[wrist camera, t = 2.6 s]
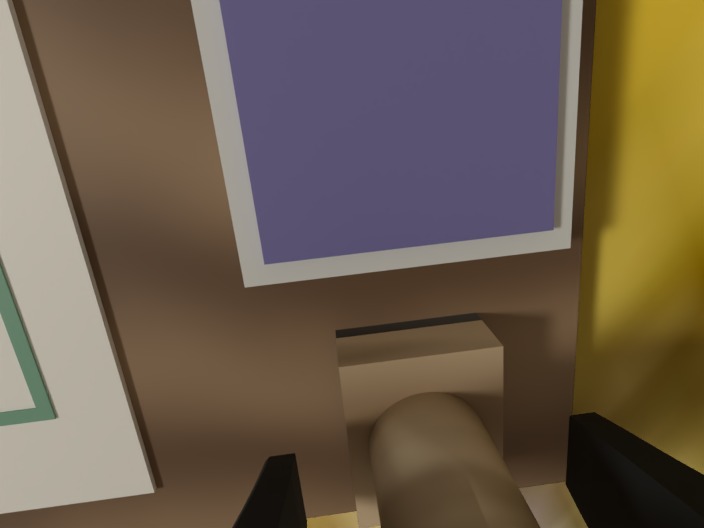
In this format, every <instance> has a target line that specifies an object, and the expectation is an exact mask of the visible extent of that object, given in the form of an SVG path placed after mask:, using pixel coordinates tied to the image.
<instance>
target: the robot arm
mask: <svg viewBox="0 0 704 528" xmlns="http://www.w3.org/2000/svg"><path fill="white" fill-rule="evenodd" d="M566 486H567V488H568V490H569V492H570V494H571V496H572V498H573V500H574V502H575V504H576V506H577V508H578V509H579V511H580V513H581V515H582V517H583V519H584V521H585V522H586V524H587V526H588V528H704V475H703V474H701V473H699V472H698V471H696V470H694V469H692V468H690V467H689V466H687V465H685V464H683V463H682V462H680V461H678V460H676V459H675V458H673V457H671V456H669V455H668V454H666V453H664V452H662V451H661V450H659V449H657V448H656V447H654V446H652V445H650V444H649V443H647V442H645V441H644V440H642V439H640V438H638V437H637V436H635V435H633V434H632V433H630V432H628V431H627V430H625V429H623V428H621V427H620V426H618V425H616V424H615V423H613V422H611V421H609V420H607V419H606V418H604V417H602V416H600V415H598V414H596V413H594V412H593V413H586V414H579V415H571V416H569V432H568V450H567V468H566ZM232 528H307V519H306V513H305V507H304V501H303V495H302V490H301V484H300V478H299V472H298V466H297V461H296V455H295V453H292V454H284V455H277V456H270V457H269V458H268V459H267V460H266V461H265V463H264V465H263V468H262V470H261V472H260V474H259V477H258V479H257V481H256V483H255V485H254V487H253V489H252V491H251V493H250V495H249V497H248V499H247V501H246V503H245V505H244V507H243V509H242V511H241V512H240V514H239V516H238V518H237V520H236V522H235V523H234V525H233V527H232Z"/></svg>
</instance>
